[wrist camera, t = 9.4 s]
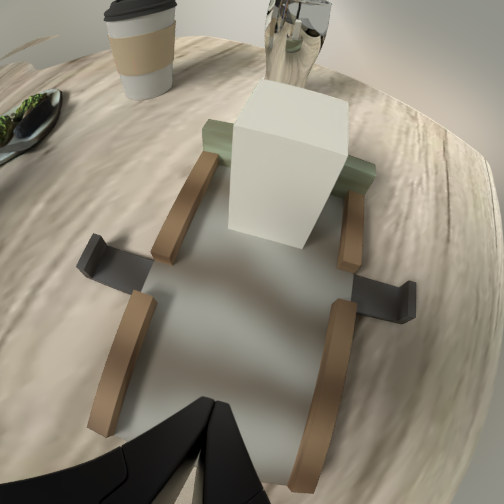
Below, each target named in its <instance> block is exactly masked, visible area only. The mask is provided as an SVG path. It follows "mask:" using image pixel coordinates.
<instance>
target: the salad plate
mask: <svg viewBox="0 0 504 504" xmlns="http://www.w3.org/2000/svg"><path fill="white" fill-rule="evenodd" d="M61 104H62V92H61V91H60V90H58V89H50V90H46V91H43V92H41V93H39V94H36V95H34V96H31V97H29V99H27V100H26V99H25V101H24V102H23V103H22V104H20V105H19V106H17V107H15V108H13V109H11V110H9V111H8V112H6V113H5V114H3V115H2V116H0V165H1V164H3V163H5V162H6V161H8V160H10V159H12V158H14V157H16V156H18V155H20V154H22V153H23V152H25V151H27V150H29V149H30V148H32V147H33V146H35V145H36V144H37V143H38V142H40V141H41V140H42V139H43V138H44V137H45V136H46V135H47V134H48V133H49V132H50V131H51V130H52V128H53V127H54V126H55V124H56V122H57V120H58V117H59V114H60V109H61ZM12 120H13V121H12ZM11 121H12V122H11Z"/></svg>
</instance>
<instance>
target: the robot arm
mask: <svg viewBox="0 0 504 504" xmlns="http://www.w3.org/2000/svg"><path fill="white" fill-rule="evenodd" d="M200 450H201V451H200ZM199 453H200V454H199ZM198 456H199V458H198ZM197 459H198V463H197V469H196V477H195V484H194V491H193V499H192V504H271V503H270V501H269V498H268V496H267V494H266V492H265V490H263V489H264V488H263V486H262V484H261V481H260V479H259V477H258V475H257V472H256V470H255V468H254V465H253V463H252V460H251V458H250V456H249V453H248V451H247V448H246V446H245V443H244V441H243V438H242V436H241V433H240V430H239V428H238V425H237V423H236V420H235V417H234V415H233V412H232V409H231V406H230V404H229V403H226V402H222V401H219V400H217V401H215V400H214V399H212V398H209V397H205V396H201V397H199V398H198V399H196V400H195V401H193V402H192V403H190V404H189V405H187V406H186V407H184V408H183V409H181V410H180V411H178V412H177V413H175V414H173V415H172V416H170V417H169V418H167V419H166V420H164V421H162V422H161V423H159V424H157V425H156V426H154V427H153V428H151V429H149V430H148V431H146V432H144V433H142V434H141V435H139V436H137V437H136V438H134V439H132V440H130V441H129V442H127V443H125V444H123V445H122V446H121V447H120V446H119V447H117V448H115V449H113V450H112V451H110V452H108V453H106V454H104V455H101V456H99V457H97V458H95V459H93V460H90V461H88V462H85V463H82V464H79V465H76V466H74V467H70V468H67V469H64V470H60V471H57V472H53V473H49V474H45V475H41V476H37V477H33V478H29V479H24V480H19V481H14V482H8V483H2V484H0V504H174V503H175V501H176V499H177V497H178V495H179V494H180V492H181V490H182V488H183V486H184V484H185V482H186V480H187V479H188V477H189V475H190V473H191V471H192V469H193V467H194V465H195V463H196V461H197Z"/></svg>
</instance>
